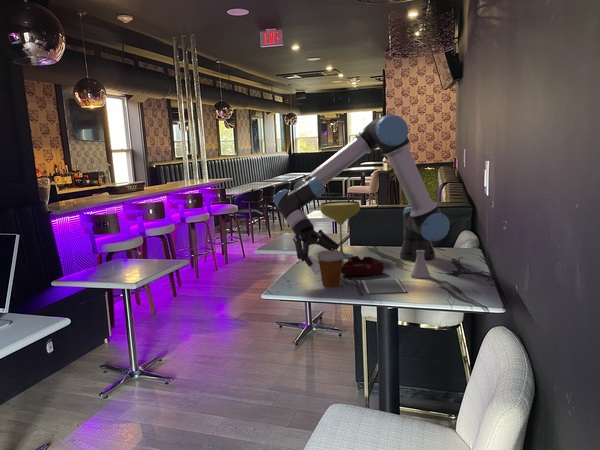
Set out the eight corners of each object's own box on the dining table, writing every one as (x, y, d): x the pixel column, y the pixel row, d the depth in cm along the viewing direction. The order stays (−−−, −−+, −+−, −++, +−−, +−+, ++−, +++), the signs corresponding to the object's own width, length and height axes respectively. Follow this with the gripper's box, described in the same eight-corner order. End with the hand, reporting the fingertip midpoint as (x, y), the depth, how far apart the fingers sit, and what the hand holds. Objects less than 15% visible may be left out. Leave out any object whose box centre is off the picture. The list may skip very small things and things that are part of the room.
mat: (398, 280, 170) (398, 278, 170) (407, 292, 154) (407, 291, 154) (360, 281, 170) (360, 280, 170) (365, 294, 154) (365, 293, 154)
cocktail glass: (367, 254, 217) (366, 201, 213) (350, 262, 202) (348, 205, 198) (333, 251, 226) (331, 200, 223) (315, 259, 211) (312, 204, 208)
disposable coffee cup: (336, 290, 161) (335, 256, 159) (313, 287, 166) (312, 254, 164) (348, 283, 169) (347, 251, 167) (326, 280, 174) (324, 249, 172)
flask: (431, 274, 176) (431, 248, 174) (429, 279, 169) (429, 252, 168) (411, 273, 178) (411, 248, 177) (409, 278, 171) (409, 252, 170)
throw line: (357, 280, 172) (357, 280, 172) (363, 295, 153) (363, 295, 153) (354, 280, 172) (354, 280, 172) (360, 296, 153) (360, 295, 153)
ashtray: (377, 280, 171) (377, 267, 171) (336, 277, 178) (336, 265, 178) (389, 269, 187) (389, 257, 187) (351, 266, 194) (350, 255, 194)
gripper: (318, 226, 185) (347, 267, 177) (271, 235, 169) (301, 281, 160) (327, 214, 181) (358, 256, 172) (279, 222, 164) (311, 269, 155)
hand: (330, 268), depth 166 cm, fingers open, 13 cm apart
